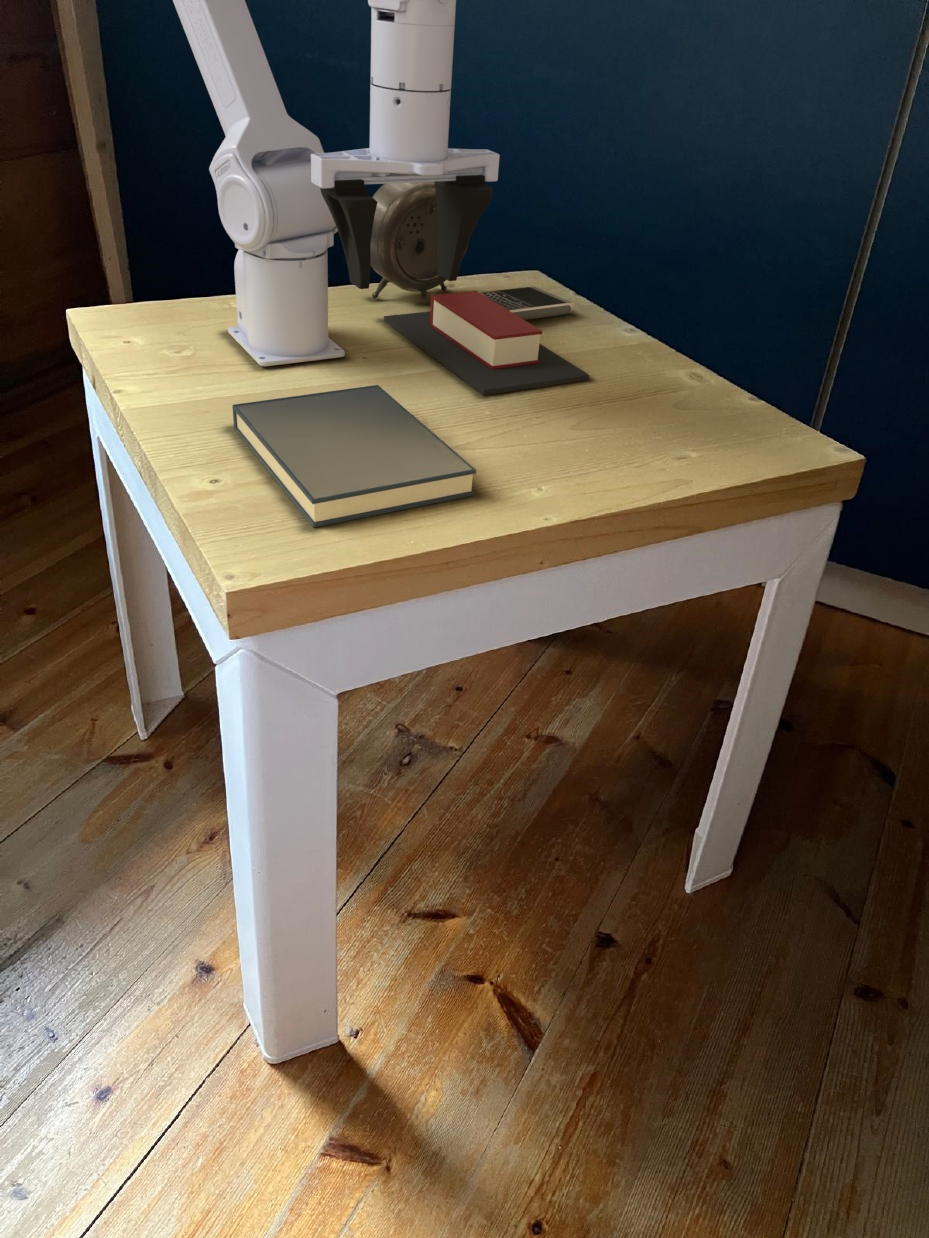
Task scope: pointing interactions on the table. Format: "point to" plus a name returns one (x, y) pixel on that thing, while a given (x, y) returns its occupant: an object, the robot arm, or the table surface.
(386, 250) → the alarm clock
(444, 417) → the table surface
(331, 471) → the bottom book
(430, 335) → the mat
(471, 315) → the top book
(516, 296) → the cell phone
